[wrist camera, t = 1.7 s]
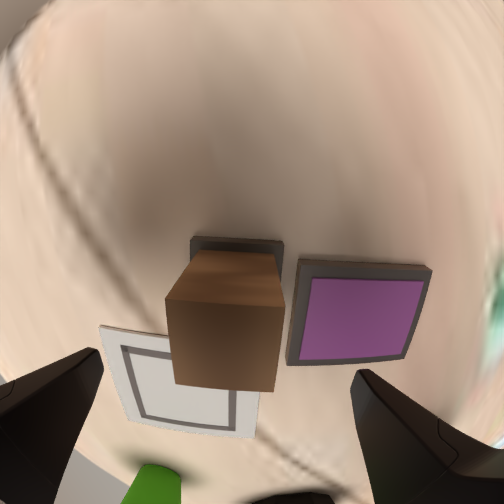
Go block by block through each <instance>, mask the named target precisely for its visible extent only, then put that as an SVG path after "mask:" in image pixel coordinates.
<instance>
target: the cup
mask: <svg viewBox="0 0 504 504" xmlns="http://www.w3.org/2000/svg"><path fill="white" fill-rule="evenodd" d="M121 504H181V479H180V476H179V475H178V474H177V473H176V472H174V471H172V470H170V469H168V468H165V467H162V466H158V465H151V464H147V465H144V466H143V467H142V468H141V469H140V471H139V473H138V474H137V476H136V478H135V480H134V481H133V483H132V485H131V487H130V488H129V490H128V492H127V494H126V495H125V497H124V499H123V500H122V502H121Z"/></svg>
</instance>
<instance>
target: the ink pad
mask: <svg viewBox="0 0 504 504" xmlns="http://www.w3.org/2000/svg"><path fill="white" fill-rule="evenodd" d="M431 275H432V270H431V269H429V268H428V267H426V266H423V265H403V264H383V263H363V262H343V261H324V260H306V259H298V265H297V274H296V283H295V291H294V299H293V306H292V314H291V321H290V328H289V335H288V342H287V348H286V355H285V359H286V365H287V366H317V365H343V364H359V363H371V362H382V361H391V360H400V359H404V358H405V355H406V353H407V350H408V348H409V345H410V343H411V340H412V337H413V334H414V332H415V329H416V326H417V323H418V320H419V317H420V314H421V311H422V308H423V304H424V301H425V297H426V294H427V290H428V287H429V283H430V279H431Z"/></svg>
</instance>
